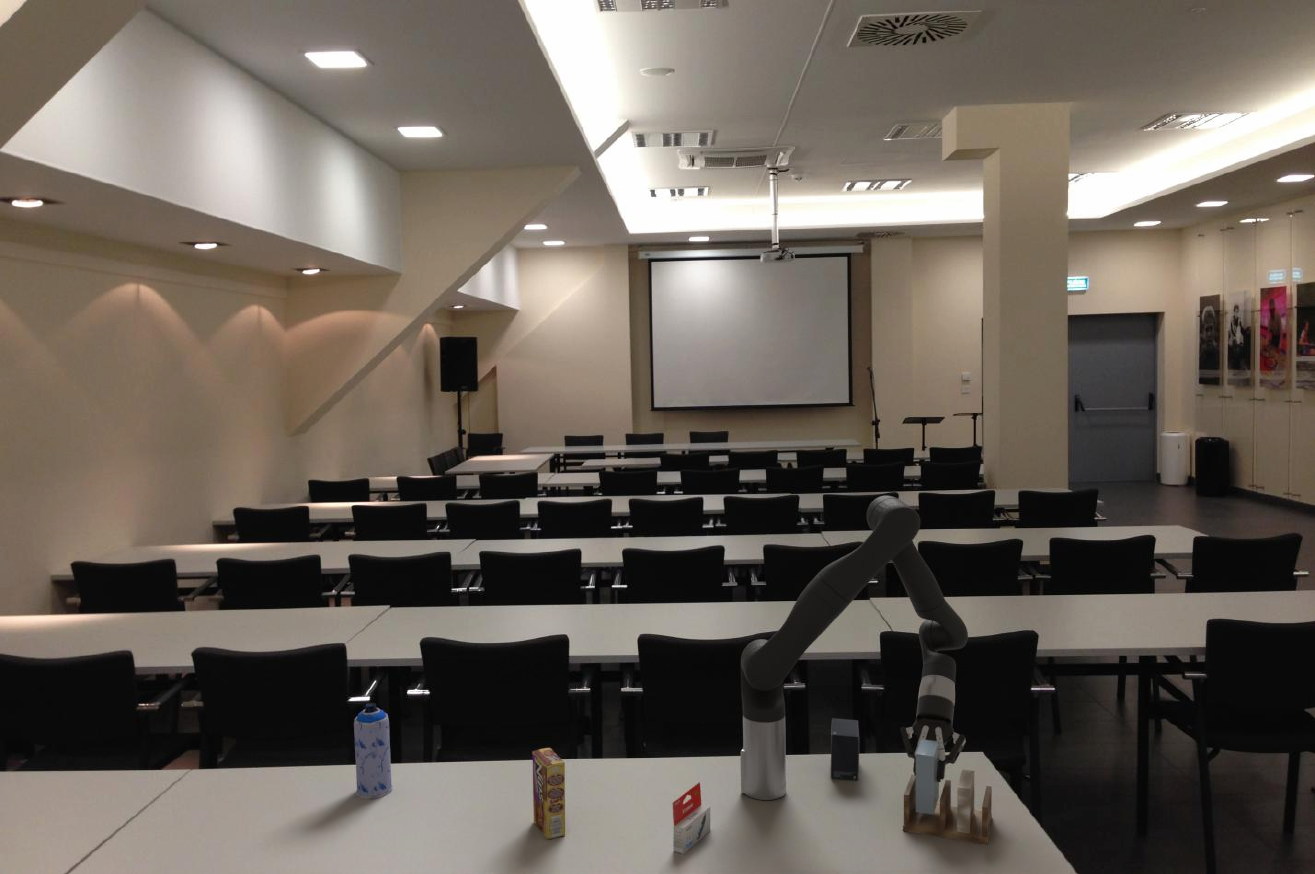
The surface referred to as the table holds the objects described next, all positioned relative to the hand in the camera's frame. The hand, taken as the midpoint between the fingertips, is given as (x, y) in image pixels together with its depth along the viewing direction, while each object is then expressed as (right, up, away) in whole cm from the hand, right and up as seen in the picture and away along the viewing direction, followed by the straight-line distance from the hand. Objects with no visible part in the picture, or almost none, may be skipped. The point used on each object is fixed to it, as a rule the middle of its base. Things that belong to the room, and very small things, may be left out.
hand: (928, 778), depth 196 cm
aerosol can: (-119, -10, +19) cm, 121 cm away
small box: (-12, -7, +24) cm, 28 cm away
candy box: (-78, -10, 0) cm, 78 cm away
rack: (+3, -8, -2) cm, 9 cm away
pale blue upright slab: (0, -5, -1) cm, 5 cm away
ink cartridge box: (-49, -10, -6) cm, 50 cm away
